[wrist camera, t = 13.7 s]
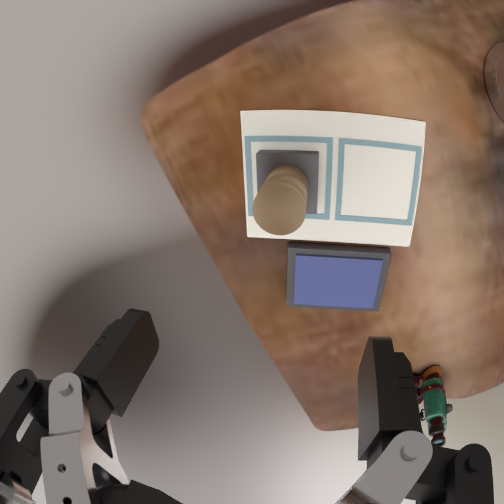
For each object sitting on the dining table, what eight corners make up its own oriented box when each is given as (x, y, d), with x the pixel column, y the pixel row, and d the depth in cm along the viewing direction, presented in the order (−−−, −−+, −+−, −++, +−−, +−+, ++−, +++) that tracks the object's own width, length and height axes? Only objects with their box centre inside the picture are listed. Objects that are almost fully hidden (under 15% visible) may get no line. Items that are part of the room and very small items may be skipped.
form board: (424, 121, 21) (426, 122, 20) (408, 244, 26) (409, 247, 26) (241, 110, 24) (240, 110, 23) (248, 235, 30) (247, 237, 29)
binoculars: (376, 440, 29) (454, 423, 24) (380, 375, 37) (445, 357, 32) (389, 459, 32) (454, 446, 27) (392, 403, 40) (449, 388, 35)
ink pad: (388, 248, 27) (391, 255, 26) (376, 304, 31) (378, 312, 29) (288, 241, 29) (287, 249, 28) (287, 298, 32) (286, 307, 31)
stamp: (318, 151, 24) (320, 174, 17) (316, 205, 26) (316, 248, 19) (260, 149, 25) (237, 171, 18) (261, 203, 27) (242, 244, 20)
